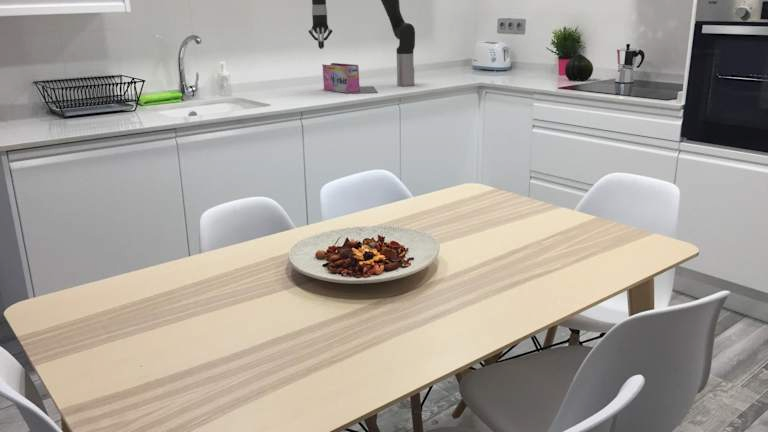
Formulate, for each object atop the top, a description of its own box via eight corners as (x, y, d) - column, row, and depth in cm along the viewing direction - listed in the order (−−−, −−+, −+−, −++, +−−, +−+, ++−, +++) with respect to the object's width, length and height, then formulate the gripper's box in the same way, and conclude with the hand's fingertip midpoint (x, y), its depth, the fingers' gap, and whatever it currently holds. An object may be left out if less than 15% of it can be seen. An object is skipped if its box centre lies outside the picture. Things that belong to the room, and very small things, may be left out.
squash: (579, 72, 367) (591, 50, 370) (556, 72, 378) (567, 50, 381) (590, 88, 376) (601, 66, 380) (567, 87, 387) (577, 65, 390)
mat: (373, 86, 376) (373, 86, 376) (377, 92, 352) (377, 92, 352) (349, 87, 375) (349, 86, 375) (352, 93, 351) (352, 93, 351)
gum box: (322, 89, 369) (320, 64, 365) (333, 87, 374) (332, 62, 370) (348, 93, 352) (346, 66, 347) (360, 91, 356) (358, 64, 352)
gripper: (332, 13, 354) (333, 47, 359) (306, 14, 353) (308, 48, 358) (332, 13, 347) (334, 48, 352) (306, 14, 346) (308, 49, 351)
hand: (321, 48), depth 355 cm, fingers closed
